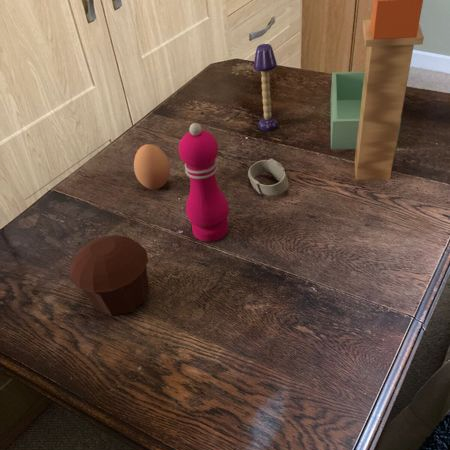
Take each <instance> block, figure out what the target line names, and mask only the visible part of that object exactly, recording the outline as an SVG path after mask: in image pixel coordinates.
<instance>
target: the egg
mask: <svg viewBox="0 0 450 450" xmlns="http://www.w3.org/2000/svg"><path fill="white" fill-rule="evenodd" d="M133 171H134V174H135V177H136V179H137V180H138V182H139V183H140V184H141V185H142V186H143V187H145V188H146V189H149V190H158V189H161V188H162V187H164V186H165V185H166V183H168V181H169V178H170V176H171V164H170V162H169V159H168V157H167V155H166V154H165V153H164V151H163V150H162V149H161V148H160V147H159V146H157V145H156V144H152V143H147V144H143V145H142V146H140V147H139V148H138V149H137V151H136V153H135V156H134V160H133Z"/></svg>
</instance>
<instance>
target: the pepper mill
mask: <svg viewBox="0 0 450 450" xmlns="http://www.w3.org/2000/svg"><path fill="white" fill-rule="evenodd" d="M178 155H179V158H180V160H181V162H183V163H184V169H185V174H186V175H187V177H189V180H190V181H189V182H190V189H189V193H188V197H187V200H186V207H185V211H186V217H187V219H188V221H189V222H190V223H191V229H192V233H193V234H192V235H193V236H194V237H195V238H196V239H198V240H199V241H202V242H205V243H206V242H208V243H211V242H215V241H218V240H219V241H220V240H221V239H222V238H224V237H225V236H226V235H227V234H228V232H229V221H228V217H229V213H230V206H229V202H228V200H227V197H226V195H225V194H224V193H223V191H222V190H221V188H220V187H219V185H218V181H217V178H216V173H217V172H218V165H217V163H218V161H217V157H218V155H219V145H218V141H217V139H216V137H215V136H214V135H213V134H212V133H211V132H208V131H207V130H204V129H202V126H201V124H200V123H198V122H193V123H191V124H190V126H189V131H188V132H187V133H186V134H184V135H183V136H182V137H181V138H180V141H179V143H178Z"/></svg>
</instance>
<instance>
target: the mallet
mask: <svg viewBox="0 0 450 450" xmlns="http://www.w3.org/2000/svg"><path fill="white" fill-rule="evenodd" d="M423 4H424V0H372V9H371V17H370V20H371V29H372V36H373V39H391V38H413V37H417V32H418V26H419V25H420V21H421V14H422V8H423Z"/></svg>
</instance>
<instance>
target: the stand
mask: <svg viewBox="0 0 450 450" xmlns="http://www.w3.org/2000/svg"><path fill="white" fill-rule="evenodd" d="M362 33H363V39H364V40H363V41H364V47H365V48H366V57H365V63H364V64H365V65H364V71H365V73H364V82H363V91H362V100H361V109H360V118H359V127H358V135H357V144H356V149H355V155H354V174H355V180H356V181H360V180H361V181H372V180H373V181H376V180H377V181H380V180H381V181H385V180H386V181H390V180H391V175H392V170H393V164H394V158H395V152H396V149H397V146H396V142H397V143H398V141H397V137H398V138H399V135H398V131H399V132H400V130H399V126H400V127H401V124H400V120H401V121H402V114H403V107H404V102H405V97H406V91H407V86H408V81H409V76H410V75H409V74H410V69H411V63H412V57H413V51H414V46H417V45H424V39H425V38H424V33H423V31H422V28H421V24H419V26H418V32H417V37H413V38H391V39H373V36H372V29H371V19H363V20H362ZM395 148H396V149H395Z"/></svg>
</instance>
